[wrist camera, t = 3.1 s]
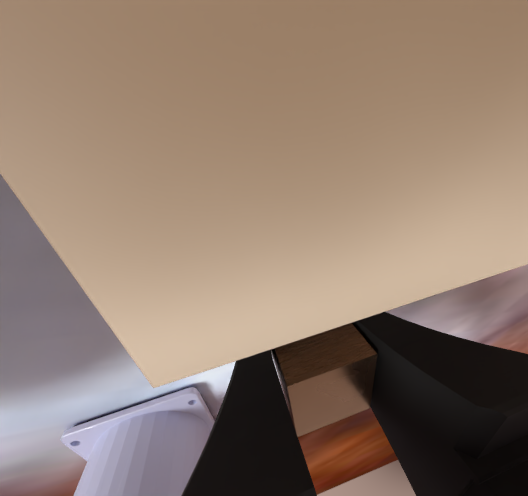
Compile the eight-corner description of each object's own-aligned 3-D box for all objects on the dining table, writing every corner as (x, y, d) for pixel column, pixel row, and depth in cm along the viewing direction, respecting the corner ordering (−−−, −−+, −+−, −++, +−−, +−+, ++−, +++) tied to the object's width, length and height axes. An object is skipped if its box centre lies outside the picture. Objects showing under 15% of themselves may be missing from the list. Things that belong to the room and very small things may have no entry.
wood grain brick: (302, 301, 12) (370, 408, 7) (259, 314, 12) (297, 437, 7) (274, 28, 7) (477, -390, 2) (194, 36, 7) (118, -478, 1)
